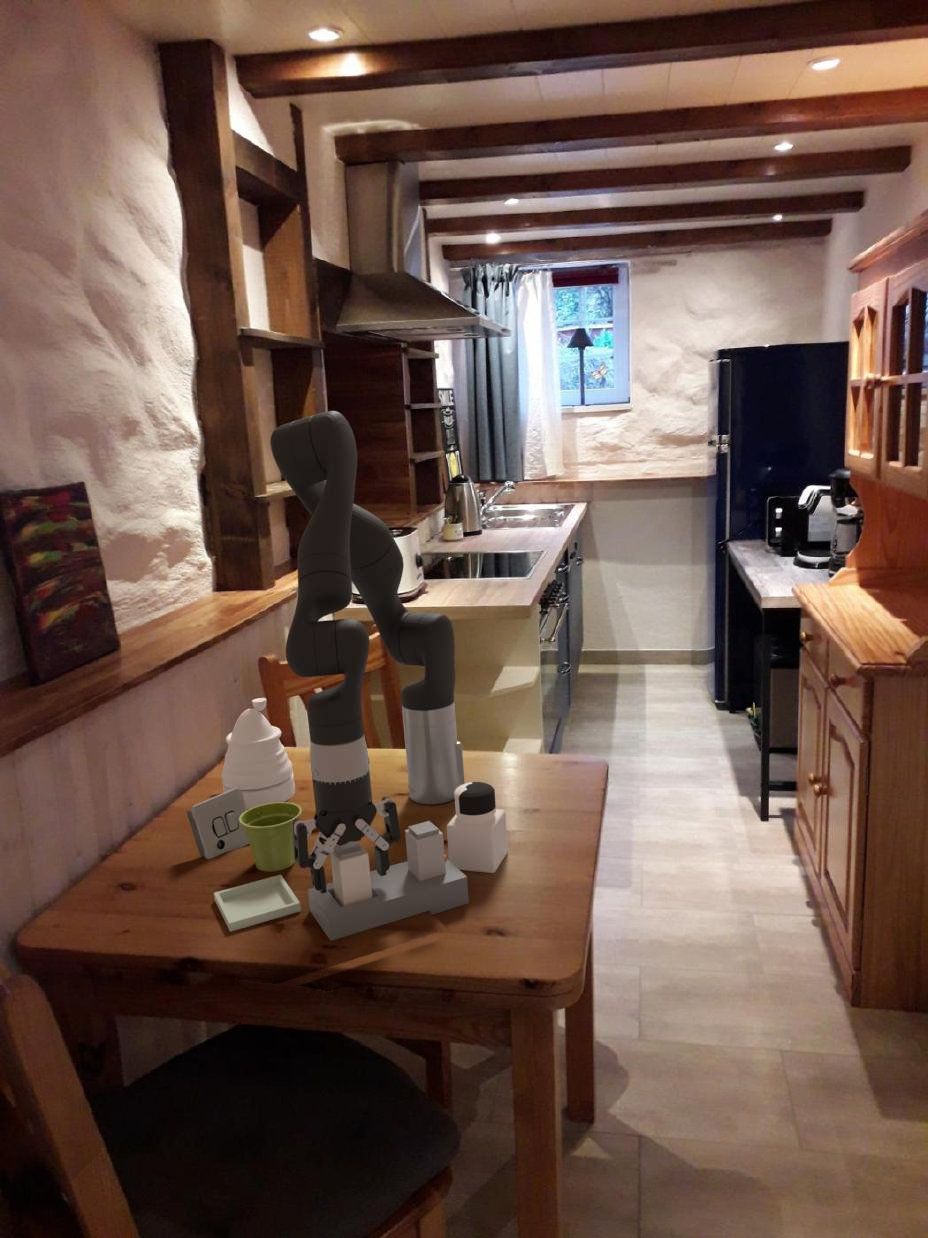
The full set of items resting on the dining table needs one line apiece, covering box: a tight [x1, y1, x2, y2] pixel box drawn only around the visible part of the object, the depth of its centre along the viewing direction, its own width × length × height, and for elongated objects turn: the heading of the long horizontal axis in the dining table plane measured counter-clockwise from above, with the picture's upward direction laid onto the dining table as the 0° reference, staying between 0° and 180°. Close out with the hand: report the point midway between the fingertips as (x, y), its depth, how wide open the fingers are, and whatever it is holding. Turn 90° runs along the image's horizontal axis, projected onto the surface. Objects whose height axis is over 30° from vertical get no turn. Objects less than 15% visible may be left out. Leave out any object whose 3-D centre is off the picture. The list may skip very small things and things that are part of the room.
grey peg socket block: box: [307, 820, 470, 942], centre depth 130 cm, size 20×9×11 cm, turn 116°
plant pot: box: [239, 801, 303, 872], centre depth 145 cm, size 9×9×9 cm
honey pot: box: [221, 697, 296, 809], centre depth 173 cm, size 13×13×18 cm
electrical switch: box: [186, 788, 250, 860], centre depth 153 cm, size 9×5×9 cm, turn 141°
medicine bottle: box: [446, 781, 509, 874], centre depth 142 cm, size 7×7×12 cm
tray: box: [213, 874, 302, 933], centre depth 133 cm, size 10×10×2 cm
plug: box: [330, 841, 372, 907], centre depth 128 cm, size 4×4×10 cm
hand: (351, 882), depth 128 cm, fingers open, 8 cm apart
